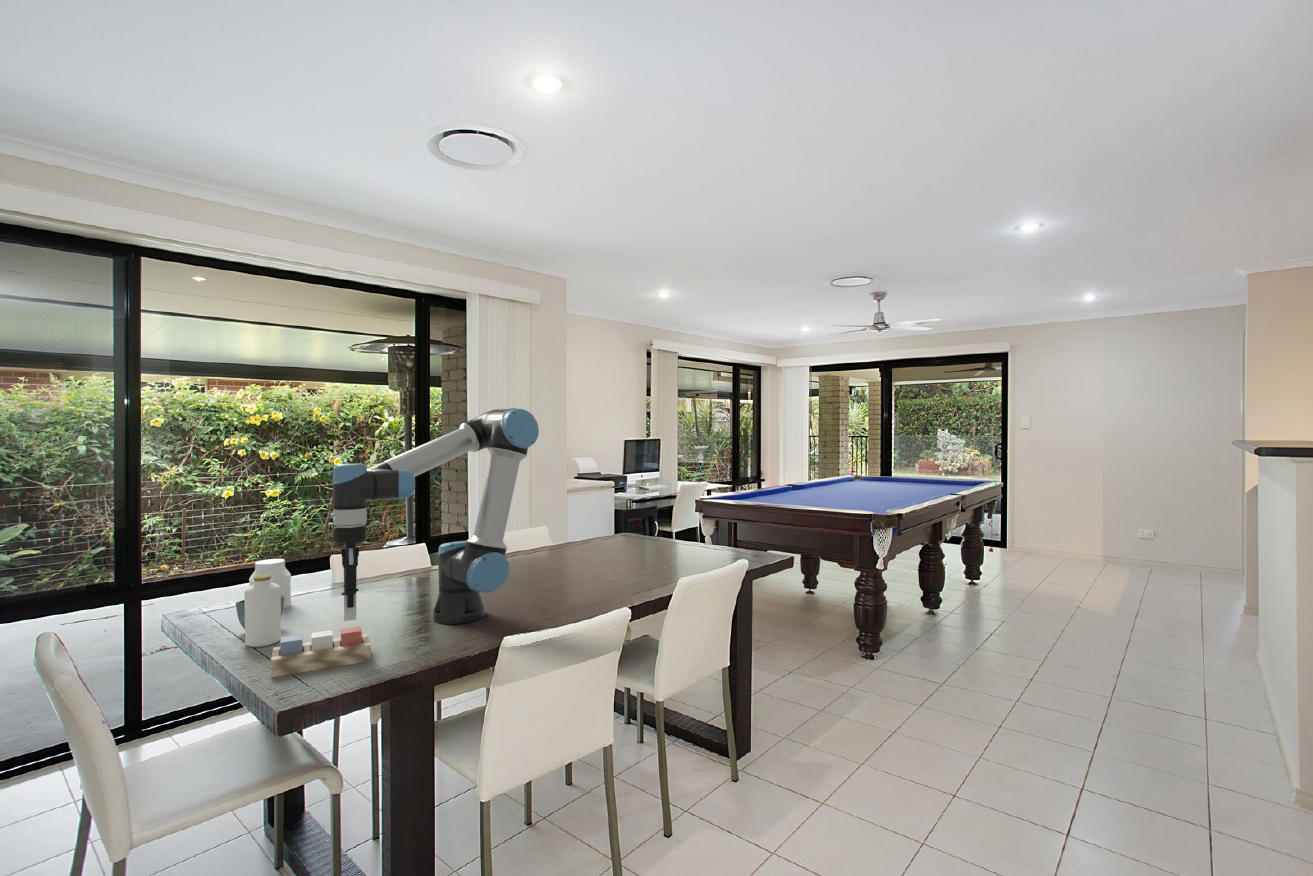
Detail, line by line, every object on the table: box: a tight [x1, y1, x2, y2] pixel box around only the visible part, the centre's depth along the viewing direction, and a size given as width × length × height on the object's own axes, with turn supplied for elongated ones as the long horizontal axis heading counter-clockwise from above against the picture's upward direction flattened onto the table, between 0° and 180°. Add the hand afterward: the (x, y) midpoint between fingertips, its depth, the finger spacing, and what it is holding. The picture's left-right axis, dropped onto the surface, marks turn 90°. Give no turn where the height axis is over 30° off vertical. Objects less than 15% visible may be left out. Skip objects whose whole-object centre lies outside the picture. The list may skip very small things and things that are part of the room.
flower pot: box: [235, 596, 285, 630], centre depth 181 cm, size 9×9×9 cm
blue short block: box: [279, 634, 304, 656], centre depth 152 cm, size 4×4×5 cm
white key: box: [311, 629, 334, 651], centre depth 156 cm, size 4×4×5 cm
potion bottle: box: [243, 575, 282, 648], centre depth 170 cm, size 8×8×18 cm
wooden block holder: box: [270, 633, 372, 678], centre depth 156 cm, size 21×10×4 cm, turn 119°
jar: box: [248, 558, 292, 610], centre depth 205 cm, size 12×10×15 cm
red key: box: [340, 625, 363, 646], centre depth 159 cm, size 4×4×5 cm
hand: (350, 619), depth 158 cm, fingers closed
